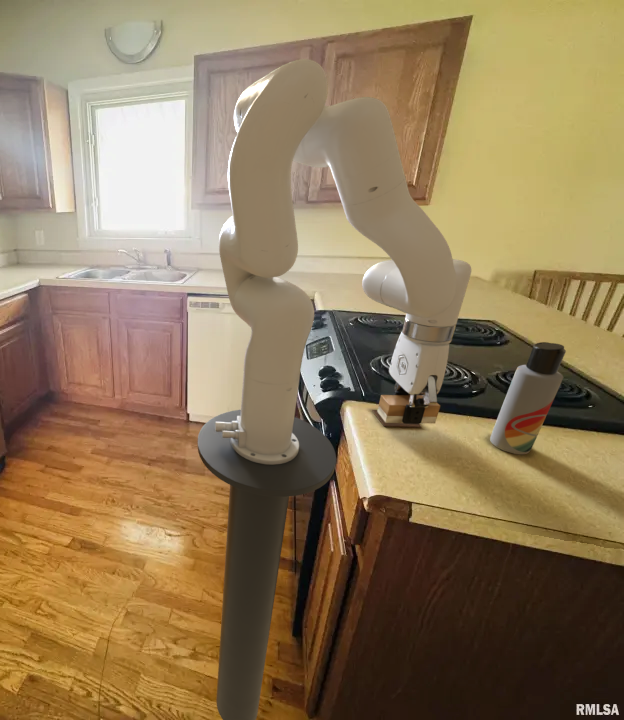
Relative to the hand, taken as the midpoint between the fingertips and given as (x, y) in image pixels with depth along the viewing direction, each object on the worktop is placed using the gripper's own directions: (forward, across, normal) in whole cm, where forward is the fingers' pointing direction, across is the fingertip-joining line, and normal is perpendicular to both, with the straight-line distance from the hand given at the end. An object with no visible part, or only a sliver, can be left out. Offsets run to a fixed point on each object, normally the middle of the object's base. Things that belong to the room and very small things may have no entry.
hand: (405, 415), depth 78 cm
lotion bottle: (+3, +6, +16) cm, 17 cm away
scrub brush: (0, 0, 0) cm, 1 cm away
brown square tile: (+2, -2, 0) cm, 3 cm away
